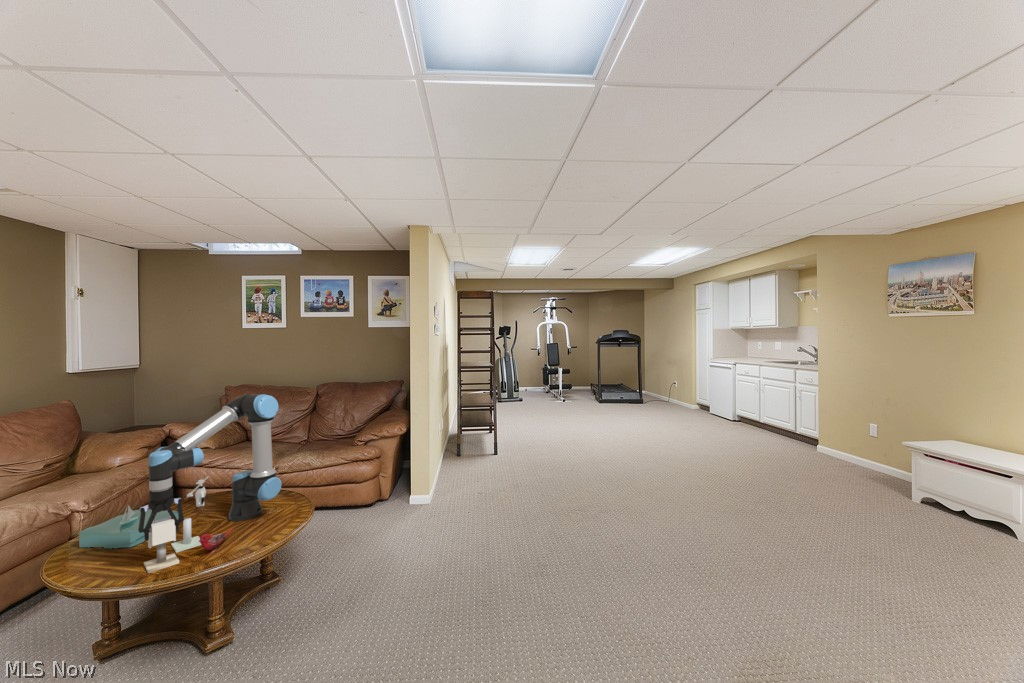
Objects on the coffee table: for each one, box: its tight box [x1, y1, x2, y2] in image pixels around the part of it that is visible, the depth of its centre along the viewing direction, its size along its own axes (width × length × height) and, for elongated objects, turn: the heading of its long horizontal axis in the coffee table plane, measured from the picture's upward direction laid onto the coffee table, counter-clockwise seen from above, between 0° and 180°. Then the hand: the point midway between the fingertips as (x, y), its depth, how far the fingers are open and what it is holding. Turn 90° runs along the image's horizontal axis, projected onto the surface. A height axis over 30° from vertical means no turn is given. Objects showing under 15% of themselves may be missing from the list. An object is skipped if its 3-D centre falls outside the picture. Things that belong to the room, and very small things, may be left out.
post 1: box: [143, 542, 180, 574], centre depth 177 cm, size 10×10×12 cm
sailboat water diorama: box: [78, 504, 179, 549], centre depth 204 cm, size 25×25×16 cm
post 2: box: [171, 517, 202, 554], centre depth 193 cm, size 10×10×12 cm
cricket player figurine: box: [186, 475, 210, 508], centre depth 239 cm, size 13×10×15 cm
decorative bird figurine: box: [199, 527, 235, 555], centre depth 188 cm, size 3×18×10 cm, turn 167°
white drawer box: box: [150, 516, 175, 547], centre depth 177 cm, size 7×7×9 cm
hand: (162, 543), depth 177 cm, fingers closed on white drawer box, 7 cm apart
